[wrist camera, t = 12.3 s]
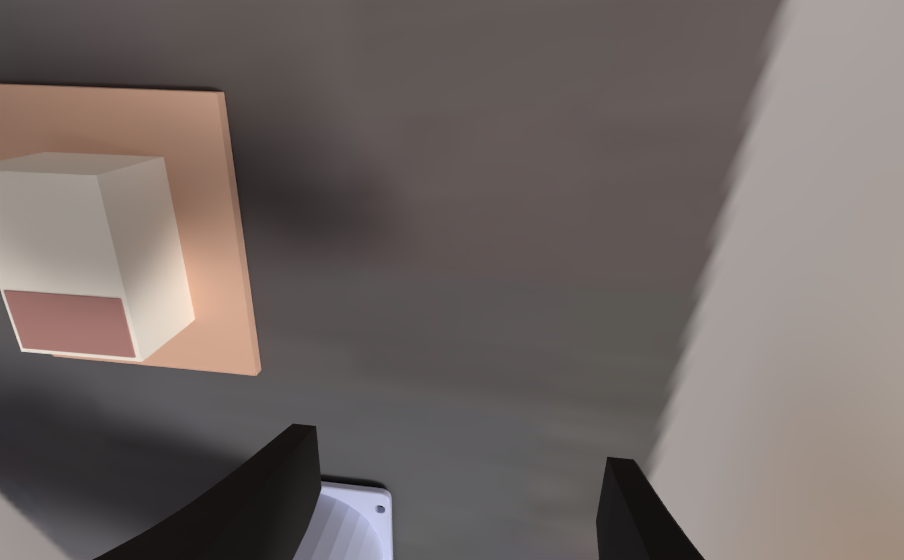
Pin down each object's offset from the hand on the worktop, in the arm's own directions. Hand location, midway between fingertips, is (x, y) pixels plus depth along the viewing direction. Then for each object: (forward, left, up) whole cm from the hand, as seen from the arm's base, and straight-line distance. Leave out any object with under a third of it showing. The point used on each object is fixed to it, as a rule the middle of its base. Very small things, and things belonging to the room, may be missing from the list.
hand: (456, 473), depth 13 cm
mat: (+2, +15, -9) cm, 18 cm away
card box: (+2, +15, -9) cm, 18 cm away
